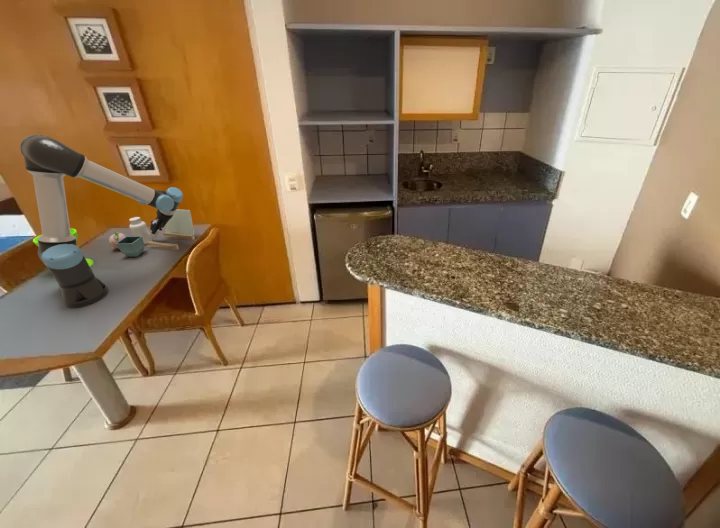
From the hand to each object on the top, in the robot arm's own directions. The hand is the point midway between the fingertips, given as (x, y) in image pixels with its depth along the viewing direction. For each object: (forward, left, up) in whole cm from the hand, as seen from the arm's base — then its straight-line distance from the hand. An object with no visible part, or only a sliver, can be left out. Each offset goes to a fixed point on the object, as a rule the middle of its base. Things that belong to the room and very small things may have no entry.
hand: (153, 235), depth 178 cm
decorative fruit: (-12, +11, -4) cm, 17 cm away
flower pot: (-16, -3, -4) cm, 16 cm away
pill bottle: (-2, +5, -4) cm, 7 cm away
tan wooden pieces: (+3, -12, -4) cm, 13 cm away
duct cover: (+9, -12, +6) cm, 16 cm away
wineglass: (-34, +17, -4) cm, 38 cm away
